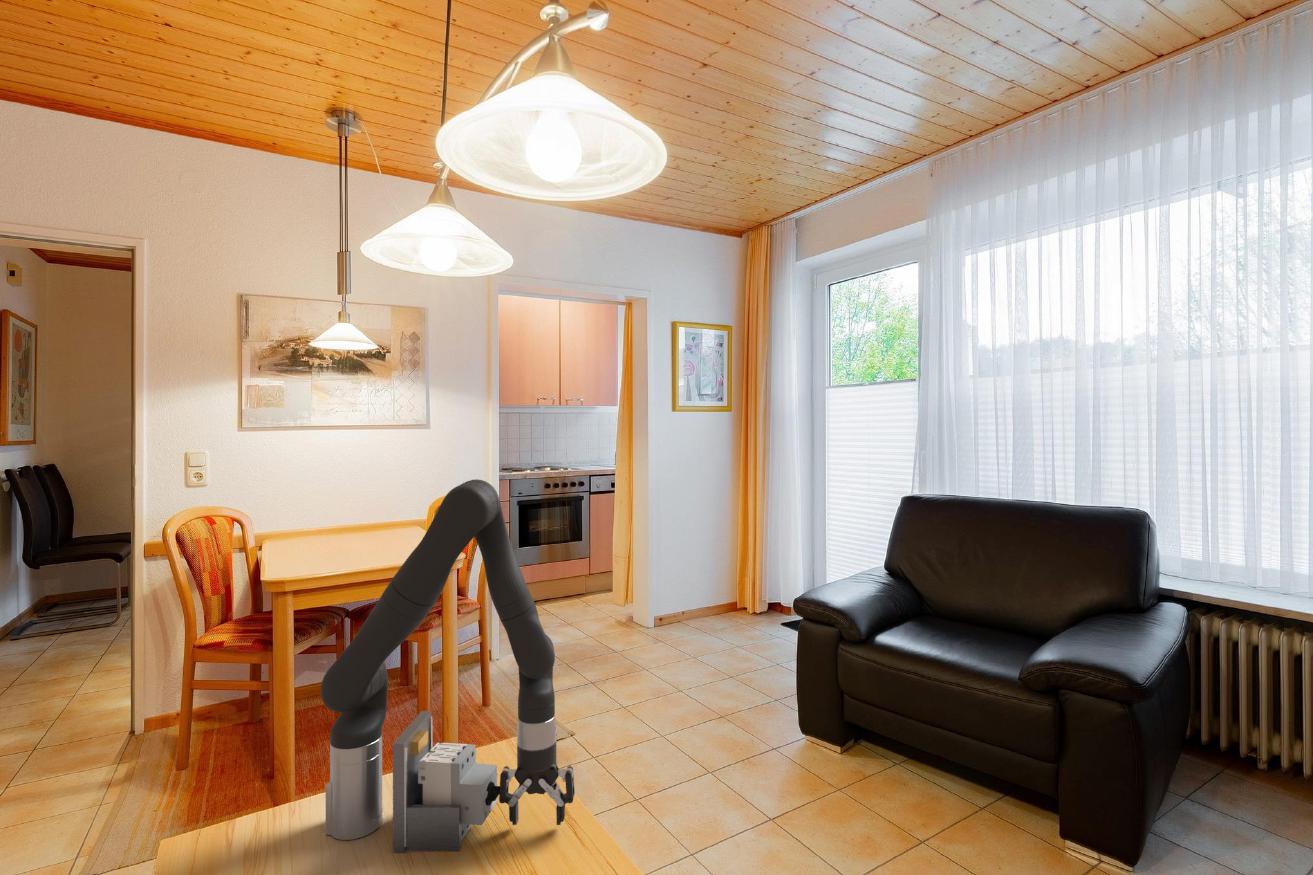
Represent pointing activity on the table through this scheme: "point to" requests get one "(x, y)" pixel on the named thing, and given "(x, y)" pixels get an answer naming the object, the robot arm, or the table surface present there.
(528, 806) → the table surface
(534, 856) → the table surface
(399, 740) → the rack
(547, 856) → the table surface
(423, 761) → the circuit breaker
